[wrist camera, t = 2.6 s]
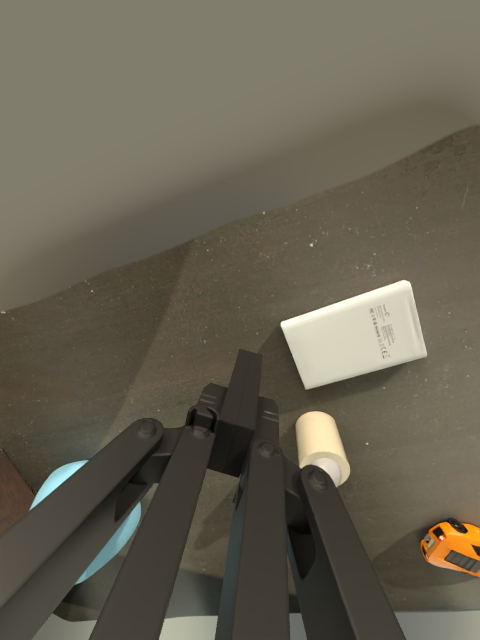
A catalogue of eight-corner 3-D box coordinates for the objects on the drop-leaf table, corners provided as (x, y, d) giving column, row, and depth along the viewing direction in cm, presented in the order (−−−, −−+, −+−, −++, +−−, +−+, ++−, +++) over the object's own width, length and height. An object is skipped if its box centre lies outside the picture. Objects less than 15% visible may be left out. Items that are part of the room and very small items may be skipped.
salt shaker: (310, 404, 31) (320, 458, 24) (345, 423, 31) (366, 483, 24) (287, 431, 33) (290, 490, 25) (321, 449, 33) (334, 512, 26)
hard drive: (280, 320, 28) (403, 278, 25) (304, 383, 30) (420, 351, 27) (280, 326, 26) (411, 282, 23) (306, 391, 29) (428, 358, 26)
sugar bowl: (48, 495, 43) (-28, 584, 32) (69, 437, 38) (-12, 520, 27) (129, 534, 44) (81, 634, 33) (161, 483, 39) (116, 581, 28)
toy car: (439, 576, 38) (454, 606, 35) (405, 524, 35) (418, 552, 32) (533, 558, 35) (558, 590, 32) (503, 498, 32) (527, 527, 29)
